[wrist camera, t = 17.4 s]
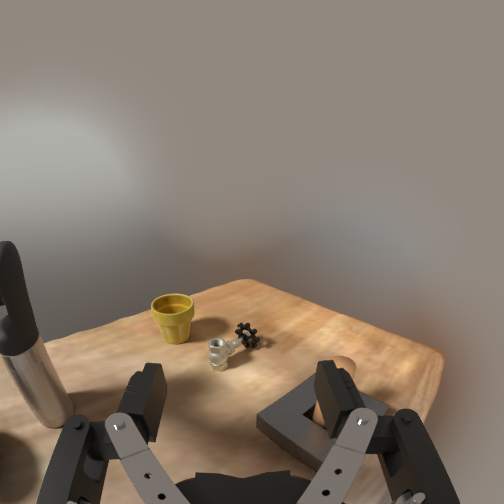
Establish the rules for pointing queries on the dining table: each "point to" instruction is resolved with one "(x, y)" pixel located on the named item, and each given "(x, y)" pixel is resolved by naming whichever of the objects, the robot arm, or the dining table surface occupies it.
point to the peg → (340, 363)
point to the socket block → (303, 424)
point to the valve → (230, 346)
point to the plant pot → (173, 316)
